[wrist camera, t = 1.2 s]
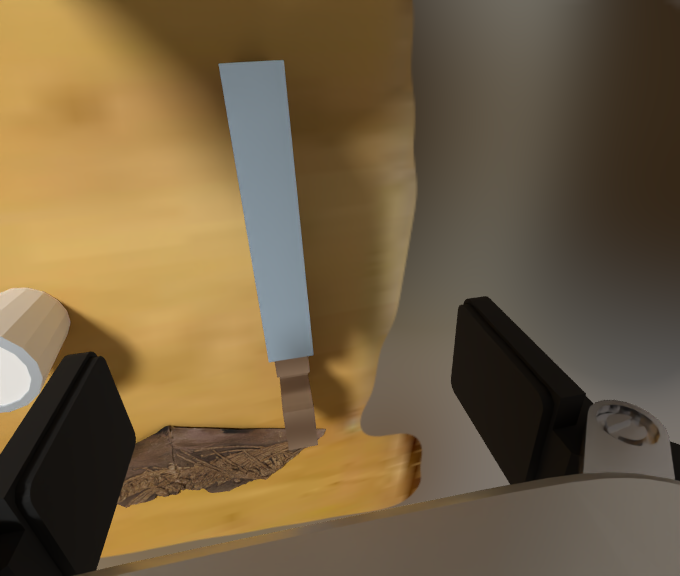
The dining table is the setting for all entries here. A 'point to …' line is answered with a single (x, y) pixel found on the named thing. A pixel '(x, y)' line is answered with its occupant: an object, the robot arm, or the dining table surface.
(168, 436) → the wooden fragment
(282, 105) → the blue-grey notched panel
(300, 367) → the wood grain block
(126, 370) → the dining table surface
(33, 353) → the white topped beige cylinder
